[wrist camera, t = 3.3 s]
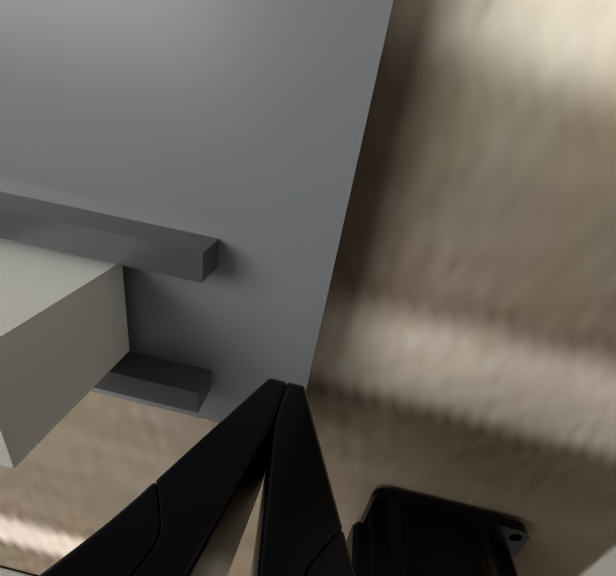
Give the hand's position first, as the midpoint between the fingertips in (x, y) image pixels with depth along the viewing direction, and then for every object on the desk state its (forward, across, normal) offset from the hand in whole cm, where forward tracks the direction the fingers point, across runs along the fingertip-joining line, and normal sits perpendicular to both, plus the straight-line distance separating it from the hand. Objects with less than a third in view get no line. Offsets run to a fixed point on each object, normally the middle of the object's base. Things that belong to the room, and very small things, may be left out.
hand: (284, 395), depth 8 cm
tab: (+2, +6, 0) cm, 7 cm away
